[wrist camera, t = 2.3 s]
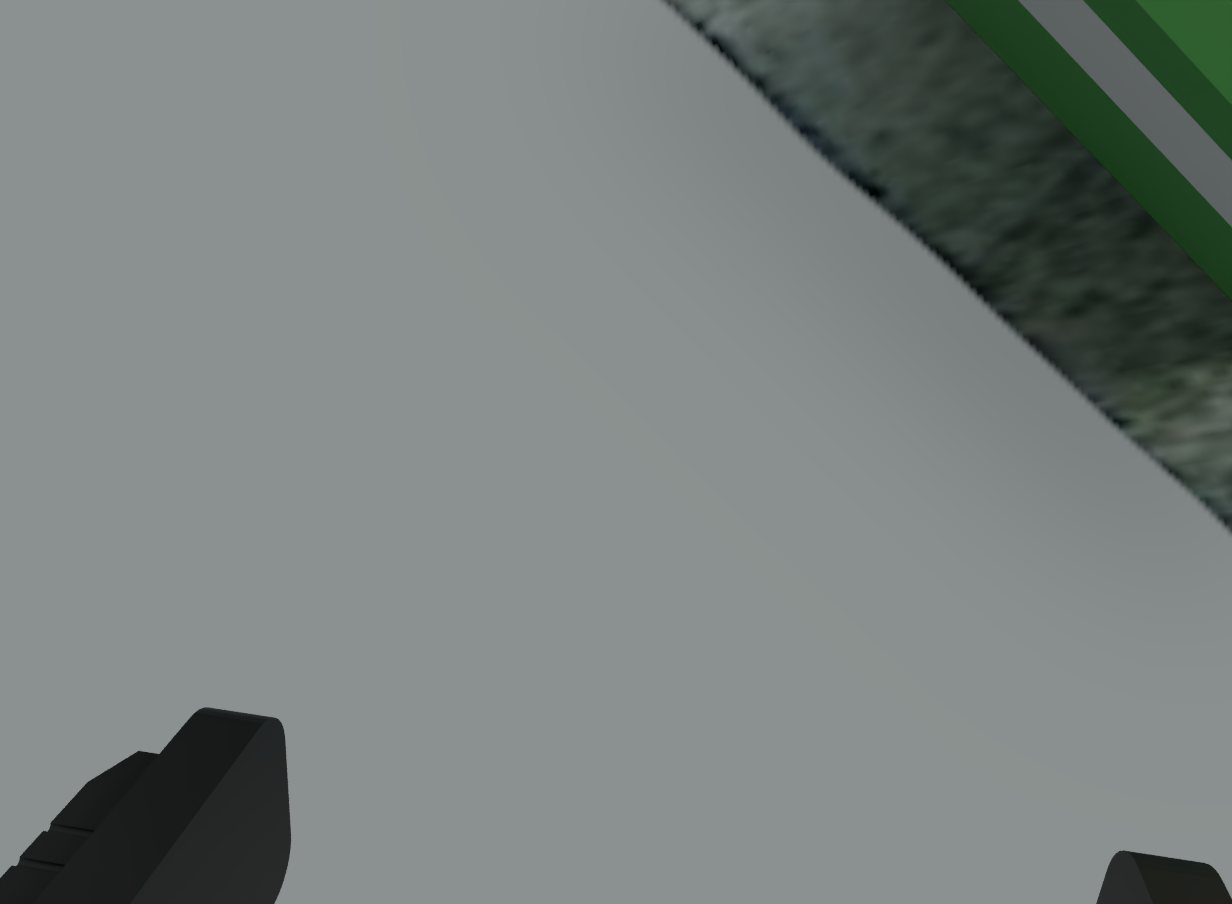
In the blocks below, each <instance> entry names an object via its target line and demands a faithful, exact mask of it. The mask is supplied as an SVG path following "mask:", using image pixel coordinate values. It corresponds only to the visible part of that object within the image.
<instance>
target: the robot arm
mask: <svg viewBox="0 0 1232 904" xmlns="http://www.w3.org/2000/svg"><path fill="white" fill-rule="evenodd" d="M288 796H289V795H288V779H287V763H286V746H285V734H284V729H283V726H282V723H281V722H280V721H279V719H277V718H273V717H267V716H260V715H253V714H247V713H240V712H234V711H227V710H221V709H214V708H202V709H200V710H198V711H197V712H195V713H194V714H193V715H192V717H191V718H190V719H189V720H188V721H187V722H186V723H185V724H184V726H183V727H182V728H181V729H180V730H179V732H178V733H177V734H176V735H175V736H174V737H173V739H172V740H171V741H170V742H169V743H168V745H167V746H166V747H165V748H164V749H163V750H162V752H161V753H160V754H155V753H148V752H142V751H138V752H136V753H134V754H133V755H131V756H130V757H128V758H126V759H125V760H123V761H121V762H120V763H118V764H117V765H115V766H113V767H112V768H110V769H108V770H107V771H105V772H103V773H102V774H100V775H99V776H97V777H95V778H94V779H92V780H90V781H89V782H88V783H87V784H85V786H84V787H83V788H82V789H81V790H80V791H79V792H78V793H77V795H76V796H75V797H74V798H73V799H72V800H71V801H70V802H69V803H68V804H67V805H66V806H65V808H64V809H63V810H62V811H61V812H60V813H59V814H58V815H57V816H56V818H55V819H54V820H53V821H52V822H51V826H50V829H49V830H48V832H46V831H43V832H42V833H41V834H40V835H39V836H38V837H37V838H36V840H35V841H34V842H33V843H32V844H31V845H30V846H29V847H28V848H27V849H26V850H25V852H24V853H23V854H22V855H21V856H20V861H19V863H18V865H17V866H11V867H10V868H9V869H8V870H7V872H5V874H4V875H3V876H2V877H1V878H0V904H274V903H275V901H276V899H277V896H278V894H279V892H280V889H281V887H282V884H283V881H284V877H285V874H286V870H287V866H288V861H289V855H290V847H291V846H290V845H291V829H290V812H289V797H288ZM1097 904H1232V899H1231V897H1230V895H1229V893H1228V891H1227V889H1226V887H1225V885H1224V883H1223V881H1222V879H1221V877H1220V876H1219V874H1218V873H1217V871H1216V870H1215V869H1214V868H1213V867H1212V866H1210V865H1209V864H1205V863H1201V862H1194V861H1188V860H1181V859H1175V858H1168V857H1162V856H1155V855H1148V854H1142V853H1135V852H1129V851H1119V852H1118V853H1116V854H1115V855H1114V857H1113V858H1112V860H1111V862H1110V864H1109V866H1108V869H1107V872H1106V875H1105V878H1104V881H1103V884H1102V888H1101V891H1100V894H1099V897H1098V900H1097Z"/></svg>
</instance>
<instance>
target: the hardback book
mask: <svg viewBox="0 0 1232 904" xmlns="http://www.w3.org/2000/svg"><path fill="white" fill-rule="evenodd" d="M945 1H946V2H947V3H948V4H949V5H950V6H951V7H952V8H953V9H954V10H955V11H956V12H957V13H958V14H959V16H960V17H961V18H962V19H963V20H964V21H965V22H966V23H967V24H968V25H969V26H970V27H971V28H972V29H973V30H974V31H975V32H976V33H977V34H978V35H979V36H980V38H981V39H982V40H983V41H984V42H985V43H986V44H987V45H988V46H989V47H990V48H991V49H992V50H993V51H994V52H995V53H996V54H997V55H998V56H999V57H1000V58H1001V60H1002V61H1003V62H1004V63H1005V64H1006V65H1007V66H1008V67H1009V68H1010V69H1011V70H1012V71H1013V72H1014V73H1015V74H1016V75H1017V76H1018V77H1019V78H1020V79H1021V80H1022V82H1023V83H1024V84H1025V85H1026V86H1027V87H1028V88H1029V89H1030V90H1031V91H1032V92H1033V93H1034V94H1035V95H1036V96H1037V97H1038V98H1039V99H1040V100H1041V101H1042V102H1043V104H1044V105H1045V106H1046V107H1047V108H1048V109H1049V110H1050V111H1051V112H1052V113H1053V114H1054V115H1055V116H1056V117H1057V118H1058V119H1059V120H1060V121H1061V122H1062V123H1063V124H1064V125H1065V127H1066V128H1067V129H1068V130H1069V131H1070V132H1071V133H1072V134H1073V135H1074V136H1075V137H1076V138H1077V139H1078V140H1079V141H1080V142H1081V143H1082V144H1083V145H1084V146H1085V147H1086V149H1087V150H1088V151H1089V152H1090V153H1091V154H1092V155H1093V156H1094V157H1095V158H1096V159H1097V160H1098V161H1099V162H1100V163H1101V164H1102V165H1103V166H1104V167H1105V168H1106V169H1107V171H1108V172H1109V173H1110V174H1111V175H1112V176H1113V177H1114V178H1115V179H1116V180H1117V181H1118V182H1119V183H1120V184H1121V185H1122V186H1123V187H1124V188H1125V189H1126V190H1127V191H1128V193H1129V194H1130V195H1131V196H1132V197H1133V198H1134V199H1135V200H1136V201H1137V202H1138V203H1139V204H1140V205H1141V206H1142V207H1143V208H1144V209H1145V210H1146V211H1147V212H1148V213H1149V215H1150V216H1151V217H1152V218H1153V219H1154V220H1155V221H1156V222H1157V223H1158V224H1159V225H1160V226H1161V227H1162V228H1163V229H1164V230H1165V231H1166V232H1167V233H1168V234H1169V235H1170V237H1171V238H1172V239H1173V240H1174V241H1175V242H1176V243H1177V244H1178V245H1179V246H1180V247H1181V248H1182V249H1183V250H1184V251H1185V252H1186V253H1187V254H1188V255H1189V256H1190V257H1191V259H1192V260H1193V261H1194V262H1195V263H1196V264H1197V265H1198V266H1199V267H1200V268H1201V269H1202V270H1203V271H1204V272H1205V273H1206V274H1207V275H1208V276H1209V277H1210V278H1211V279H1212V281H1213V282H1214V283H1215V284H1216V285H1217V286H1218V287H1219V288H1220V289H1221V290H1222V291H1223V292H1224V293H1225V294H1226V295H1227V296H1228V297H1229V298H1230V299H1231V300H1232V0H945Z"/></svg>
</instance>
